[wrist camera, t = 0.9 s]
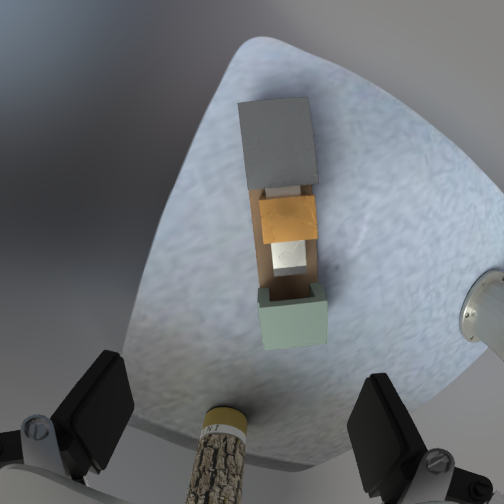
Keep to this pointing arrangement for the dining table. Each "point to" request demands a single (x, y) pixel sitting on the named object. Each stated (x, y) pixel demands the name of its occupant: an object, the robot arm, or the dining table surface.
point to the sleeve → (278, 143)
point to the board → (277, 285)
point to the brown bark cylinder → (219, 459)
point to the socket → (293, 319)
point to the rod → (288, 227)
